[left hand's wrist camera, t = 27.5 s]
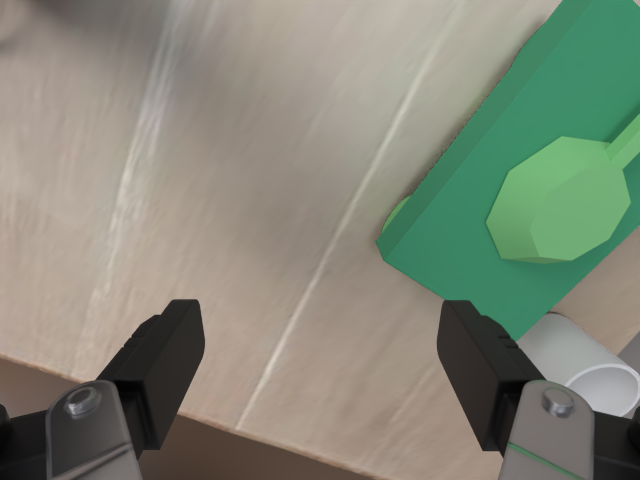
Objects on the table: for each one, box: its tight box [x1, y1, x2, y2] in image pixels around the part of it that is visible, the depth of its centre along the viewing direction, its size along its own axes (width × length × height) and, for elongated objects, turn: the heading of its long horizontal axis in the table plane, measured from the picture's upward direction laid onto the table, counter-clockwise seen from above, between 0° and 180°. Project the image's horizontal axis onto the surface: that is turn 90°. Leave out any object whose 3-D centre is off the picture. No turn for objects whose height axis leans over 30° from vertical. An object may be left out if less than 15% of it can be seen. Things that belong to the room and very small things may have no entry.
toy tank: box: [376, 0, 640, 342], centre depth 32 cm, size 18×12×35 cm
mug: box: [516, 313, 640, 417], centre depth 42 cm, size 11×9×10 cm
